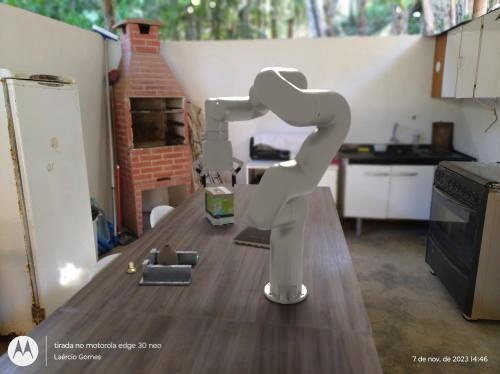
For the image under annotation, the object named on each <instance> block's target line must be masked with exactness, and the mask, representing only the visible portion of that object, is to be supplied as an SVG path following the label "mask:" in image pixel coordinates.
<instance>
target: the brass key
mask: <svg viewBox="0 0 500 374" xmlns="http://www.w3.org/2000/svg"><path fill="white" fill-rule="evenodd" d="M128 265H129V268H128V269H127V273H128V274H135V273H136V272H137V268H136V267H134V262H133V261H132V262H131V261H130V262H129V264H128Z"/></svg>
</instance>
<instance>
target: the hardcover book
mask: <svg viewBox="0 0 500 374" xmlns="http://www.w3.org/2000/svg"><path fill="white" fill-rule="evenodd" d="M271 230H272V229H270V230H260V229H258V228H256V227H255V226H250V225H249V226H247V227H245V228H244V229H243V230H242V231H240V233H238V234H237V235H236V236H235V237H234V238H233V240H234V243H235V242H238V243H237V244H242V243H245V244H244V245H248V244H251V245H250V246H255V245H257V246H256V247H261V246H263V247H262V248H267V249H268V248H269V249H270V235H271Z"/></svg>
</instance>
